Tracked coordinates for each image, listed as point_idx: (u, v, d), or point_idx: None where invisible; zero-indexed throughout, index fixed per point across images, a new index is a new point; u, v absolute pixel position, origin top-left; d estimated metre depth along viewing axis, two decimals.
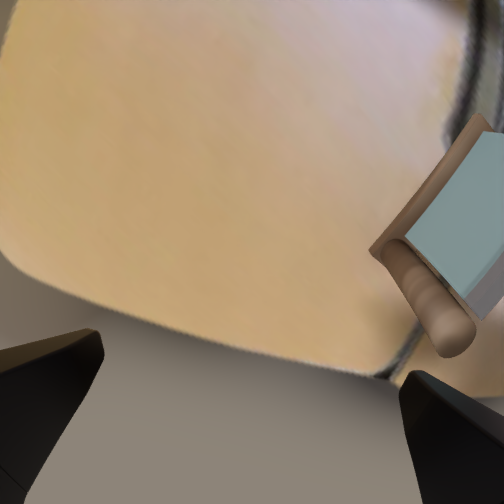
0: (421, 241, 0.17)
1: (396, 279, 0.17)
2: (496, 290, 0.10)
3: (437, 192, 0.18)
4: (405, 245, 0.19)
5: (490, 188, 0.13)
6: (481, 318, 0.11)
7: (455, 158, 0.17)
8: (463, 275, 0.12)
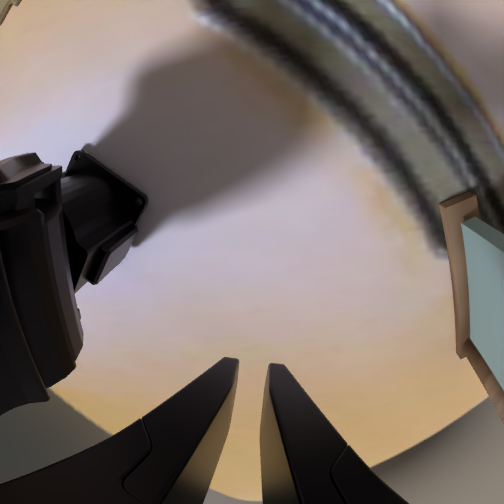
0: (481, 350, 0.17)
1: None
2: None
3: (467, 295, 0.18)
4: (474, 346, 0.19)
5: (501, 315, 0.13)
6: None
7: (459, 265, 0.17)
8: None
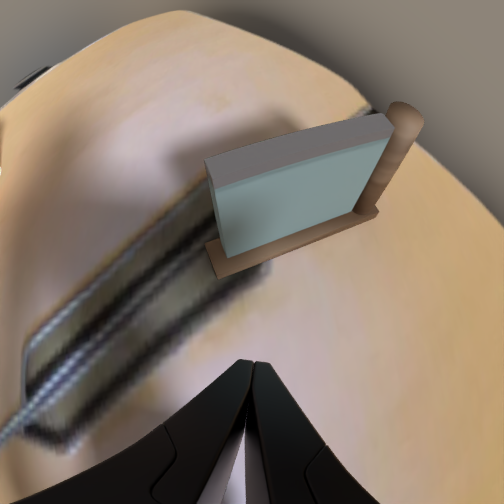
0: (353, 198, 0.21)
1: None
2: (369, 125, 0.14)
3: (304, 229, 0.23)
4: (357, 203, 0.22)
5: (292, 203, 0.18)
6: (382, 114, 0.15)
7: (272, 248, 0.22)
8: (373, 153, 0.16)
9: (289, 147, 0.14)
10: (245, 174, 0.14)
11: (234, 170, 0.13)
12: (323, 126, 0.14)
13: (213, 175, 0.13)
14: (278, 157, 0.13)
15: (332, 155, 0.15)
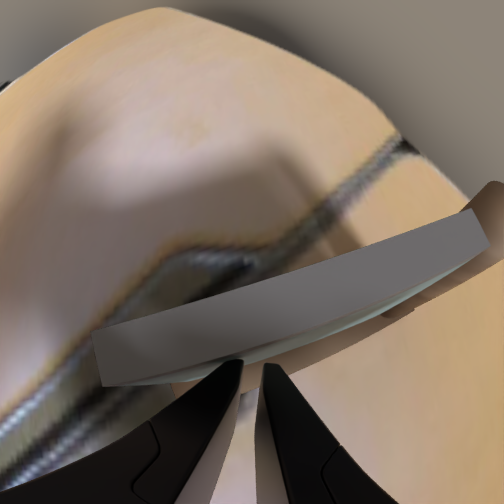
0: (383, 311, 0.13)
1: None
2: (450, 243, 0.07)
3: (307, 348, 0.15)
4: None
5: (283, 348, 0.10)
6: (471, 212, 0.07)
7: (259, 379, 0.14)
8: (438, 278, 0.08)
9: (274, 320, 0.06)
10: (173, 372, 0.06)
11: (143, 372, 0.06)
12: (360, 252, 0.06)
13: (104, 378, 0.05)
14: (245, 347, 0.06)
15: (369, 308, 0.07)
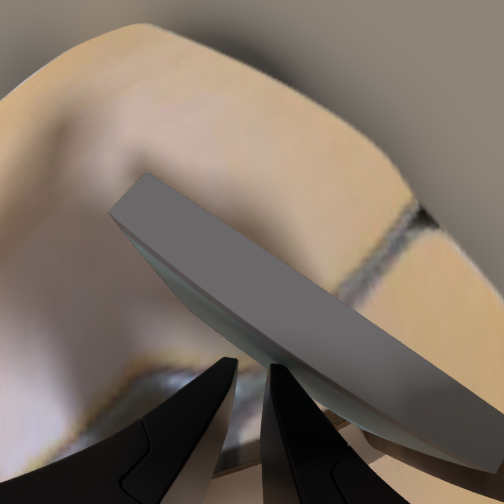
0: (370, 431, 0.10)
1: None
2: (473, 433, 0.04)
3: None
4: (381, 451, 0.11)
5: (270, 362, 0.09)
6: None
7: None
8: (431, 452, 0.05)
9: (273, 313, 0.05)
10: (163, 262, 0.06)
11: (141, 235, 0.06)
12: (402, 349, 0.05)
13: (115, 208, 0.06)
14: (227, 303, 0.05)
15: (356, 403, 0.05)
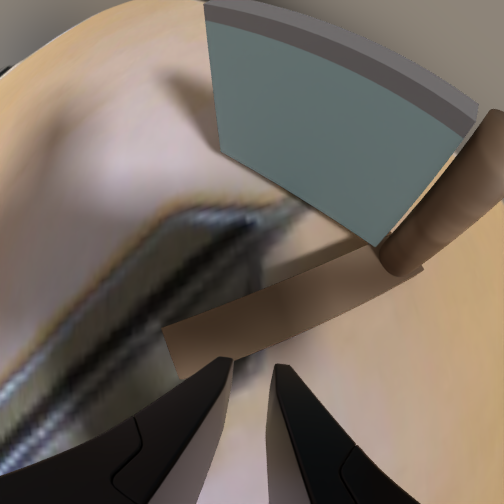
0: (382, 222, 0.13)
1: None
2: (437, 86, 0.07)
3: (314, 306, 0.14)
4: (397, 263, 0.14)
5: (293, 128, 0.12)
6: (476, 104, 0.07)
7: (264, 339, 0.14)
8: (427, 146, 0.08)
9: (297, 21, 0.08)
10: (235, 20, 0.09)
11: (225, 6, 0.08)
12: (369, 40, 0.08)
13: (208, 2, 0.09)
14: (274, 19, 0.08)
15: (353, 79, 0.08)
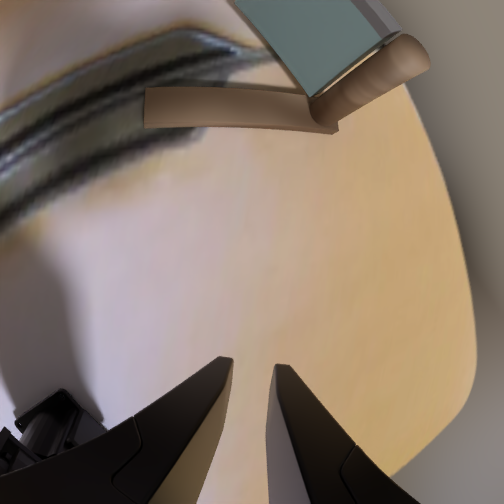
0: (319, 78, 0.18)
1: None
2: (378, 9, 0.11)
3: (253, 111, 0.19)
4: (319, 111, 0.19)
5: (288, 2, 0.14)
6: (400, 28, 0.11)
7: (211, 116, 0.19)
8: (360, 37, 0.13)
9: None
10: None
11: None
12: None
13: None
14: None
15: None
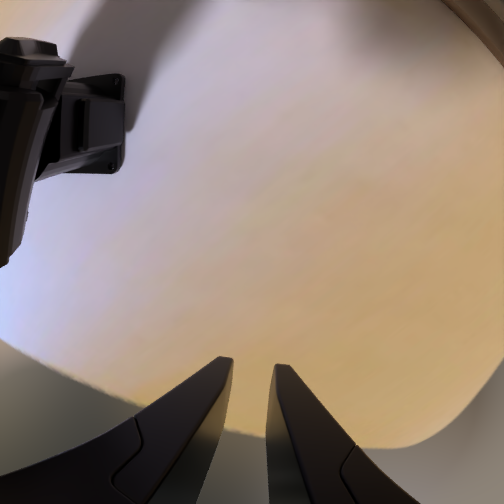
0: None
1: None
2: None
3: (472, 9, 0.11)
4: None
5: None
6: None
7: None
8: None
9: None
10: None
11: None
12: None
13: None
14: None
15: None
